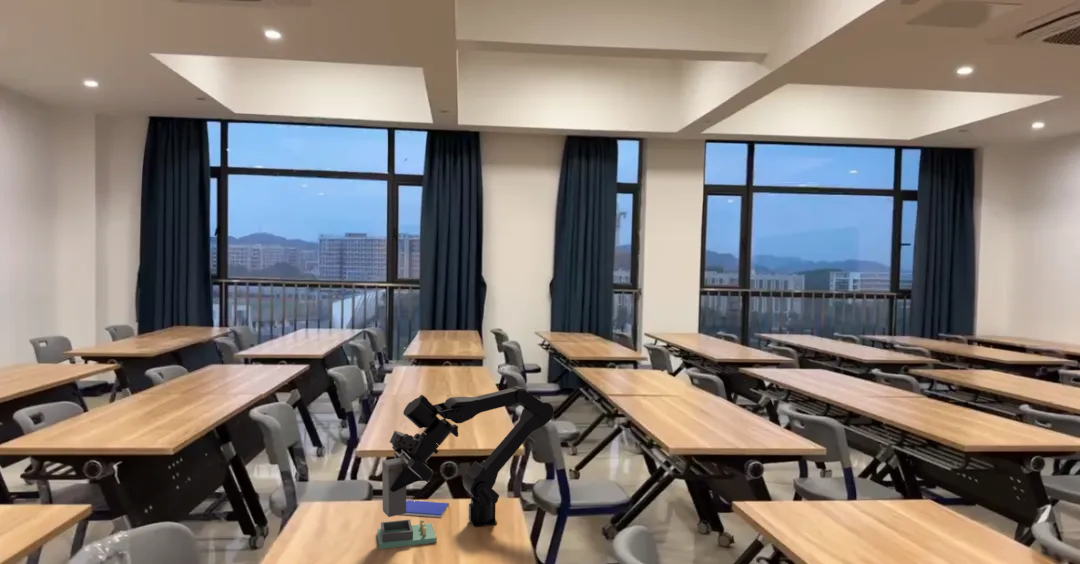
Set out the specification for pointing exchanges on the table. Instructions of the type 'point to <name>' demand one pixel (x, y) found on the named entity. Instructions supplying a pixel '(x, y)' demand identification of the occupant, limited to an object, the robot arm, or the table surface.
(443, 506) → the hard drive
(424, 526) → the header board
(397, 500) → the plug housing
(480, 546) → the table surface
